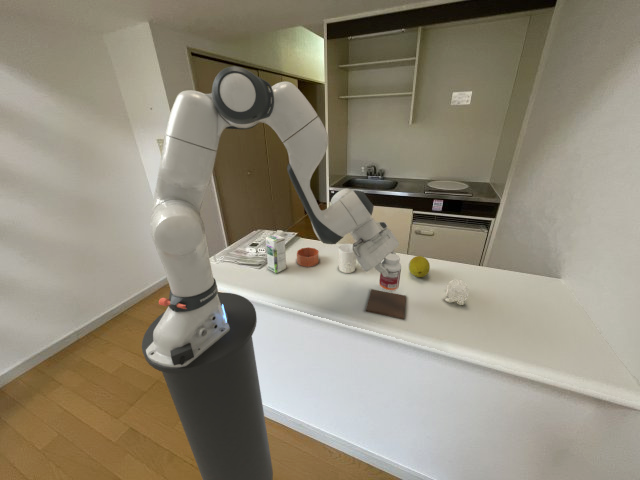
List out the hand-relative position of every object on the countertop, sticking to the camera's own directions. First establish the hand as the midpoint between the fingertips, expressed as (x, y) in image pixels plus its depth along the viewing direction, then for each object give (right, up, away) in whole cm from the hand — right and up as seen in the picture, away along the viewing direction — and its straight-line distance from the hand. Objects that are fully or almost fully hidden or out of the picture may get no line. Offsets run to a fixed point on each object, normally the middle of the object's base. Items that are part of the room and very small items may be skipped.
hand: (392, 270), depth 81 cm
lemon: (+16, -5, +22) cm, 28 cm away
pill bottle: (0, -6, +3) cm, 7 cm away
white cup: (-12, -3, +27) cm, 29 cm away
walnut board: (0, -12, +6) cm, 14 cm away
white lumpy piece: (+24, -11, +9) cm, 28 cm away
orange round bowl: (-28, 0, +33) cm, 43 cm away
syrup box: (-41, -3, +27) cm, 49 cm away
